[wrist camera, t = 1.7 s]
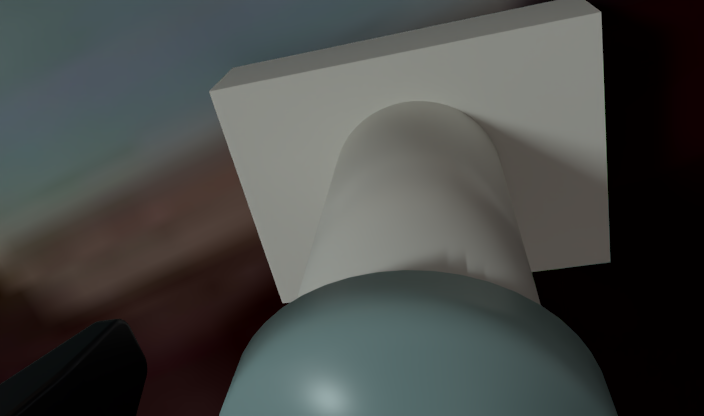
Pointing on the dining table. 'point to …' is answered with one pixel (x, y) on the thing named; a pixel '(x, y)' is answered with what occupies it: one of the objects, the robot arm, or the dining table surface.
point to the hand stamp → (424, 217)
